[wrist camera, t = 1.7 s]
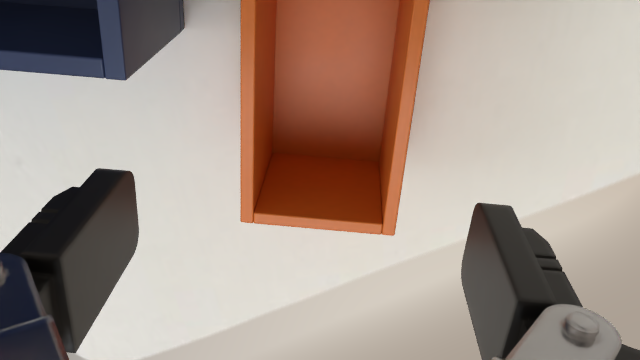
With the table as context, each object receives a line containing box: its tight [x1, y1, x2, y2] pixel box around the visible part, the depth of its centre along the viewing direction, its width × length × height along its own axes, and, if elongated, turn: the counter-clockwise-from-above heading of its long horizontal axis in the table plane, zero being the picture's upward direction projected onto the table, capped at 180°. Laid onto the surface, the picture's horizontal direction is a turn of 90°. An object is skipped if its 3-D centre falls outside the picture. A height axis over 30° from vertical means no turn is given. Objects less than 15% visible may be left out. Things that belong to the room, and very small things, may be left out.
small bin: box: [241, 0, 430, 236], centre depth 23 cm, size 6×10×6 cm, turn 176°
